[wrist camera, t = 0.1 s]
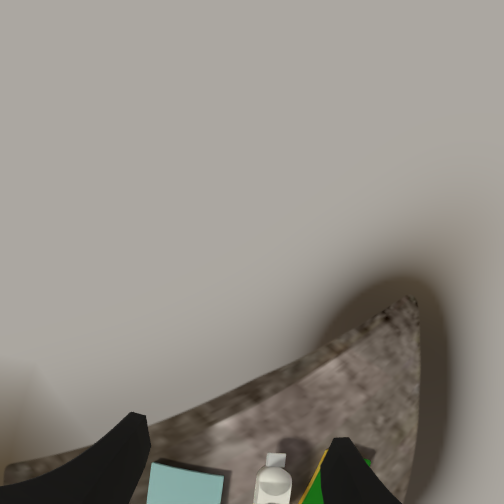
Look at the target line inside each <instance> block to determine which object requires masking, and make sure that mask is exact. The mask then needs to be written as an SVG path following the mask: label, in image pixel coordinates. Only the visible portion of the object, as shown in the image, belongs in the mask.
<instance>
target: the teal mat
mask: <svg viewBox="0 0 504 504" xmlns="http://www.w3.org/2000/svg"><path fill="white" fill-rule="evenodd" d="M223 480H224V476H223V475H216V474H209V473H203V472H198V471H192V470H187V469H182V468H177V467H173V466H168V465H164V464H160V463H156V462H153V463H152V466H151V473H150V481H149V489H148V497H147V504H220V502H221V495H222V487H223Z"/></svg>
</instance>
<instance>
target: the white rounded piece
mask: <svg viewBox="0 0 504 504" xmlns="http://www.w3.org/2000/svg"><path fill="white" fill-rule="evenodd" d="M285 459H286V454H285V453H268V452H267V458H266V466H264V467H262V468H261V469H260V470H259V471H258V473H257V478H256V486H255V493H254V501H253V504H289V501H290V494H291V486H292V478H291V476H290V474H289V473H288V472H286V471H285V470H284V469H282V468H281V467H285Z"/></svg>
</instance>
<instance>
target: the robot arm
mask: <svg viewBox="0 0 504 504" xmlns="http://www.w3.org/2000/svg"><path fill="white" fill-rule="evenodd" d="M150 448H151V443H150V437H149V432H148V426H147V420H146V416H145V415H141V414H138V413H134V412H130V413H129V414H128V415H127V416H126V417H125V418H123V420H121V421H120V422H119V423H118V424H117V425H116V426H115V427H114V428H113V429H112V430H111V431H109V432H108V433H107V434H106V435H105V436H104V437H102V438H101V439H100V440H99V441H98V442H96V443H95V444H94V445H92V446H91V447H90V448H88V449H87V450H86V451H84V452H83V453H81V454H80V455H79V456H77V457H76V458H74V459H72V460H71V461H69V462H67V463H66V464H64V465H62V466H60V467H58V468H56V469H54V470H52V471H50V472H48V473H46V474H43V475H41V476H38V477H35V478H32V479H29V480H26V481H23V482H20V483H16V484H11V485H6V486H0V504H129V501H130V499H131V497H132V495H133V492H134V490H135V488H136V486H137V484H138V481H139V479H140V477H141V475H142V472H143V470H144V468H145V465H146V462H147V459H148V455H149V451H150ZM320 478H321V490H322V496H323V502H324V504H402V503H401V502H400V501H399V500H398V499H397V498H396V497H395V496H394V495H393V494H392V493H391V492H390V491H389V490H388V489H387V488H386V487H385V486H384V484H383V483H382V482H381V481H380V480H379V478H378V477H377V476H376V475H375V473H374V472H373V471H372V470H371V468H370V467H369V466H368V464H367V463H366V461H365V460H364V459H363V457H362V456H361V454H360V453H359V451H358V450H357V448H356V447H355V445H354V444H353V442H352V441H351V440H350V438H349V437H343V438H334V439H333V441H332V443H331V445H330V447H329V449H328V451H327V453H326V455H325V457H324V459H323V461H322V463H321V465H320Z"/></svg>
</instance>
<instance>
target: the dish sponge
mask: <svg viewBox="0 0 504 504" xmlns="http://www.w3.org/2000/svg"><path fill="white" fill-rule="evenodd" d="M327 451H328V449H327V450H325V452H324V455H323V457H322V459H321V461H320V463H319V465H318V467H317V469H316V471H315V473H314V475H313V477H312V479H311V481H310V483H309V485H308V486H307V488H306V490H305V492H304V494H303V496H302V497H301V499H300V501H299V503H298V504H324V502H323V496H322V490H321V478H320V465H321V463H322V461H323V459H324V457H325V455H326V453H327ZM364 460H365V461H366V463H367V464H368V466H369V467H370V464H371V461H370V460H367V459H364Z"/></svg>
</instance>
